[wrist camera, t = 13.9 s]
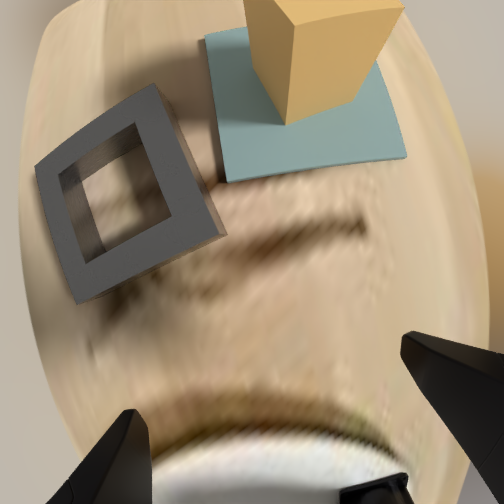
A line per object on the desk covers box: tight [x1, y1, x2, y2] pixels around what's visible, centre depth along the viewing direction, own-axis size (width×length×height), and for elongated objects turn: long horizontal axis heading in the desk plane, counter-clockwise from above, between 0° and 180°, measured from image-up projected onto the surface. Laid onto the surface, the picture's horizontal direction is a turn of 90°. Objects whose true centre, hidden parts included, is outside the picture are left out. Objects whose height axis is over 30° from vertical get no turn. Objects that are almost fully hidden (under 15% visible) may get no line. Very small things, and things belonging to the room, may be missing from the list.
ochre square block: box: [243, 0, 405, 126], centre depth 13 cm, size 5×5×10 cm
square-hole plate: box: [34, 83, 228, 305], centre depth 18 cm, size 10×10×3 cm
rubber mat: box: [204, 27, 407, 183], centre depth 18 cm, size 12×12×1 cm
